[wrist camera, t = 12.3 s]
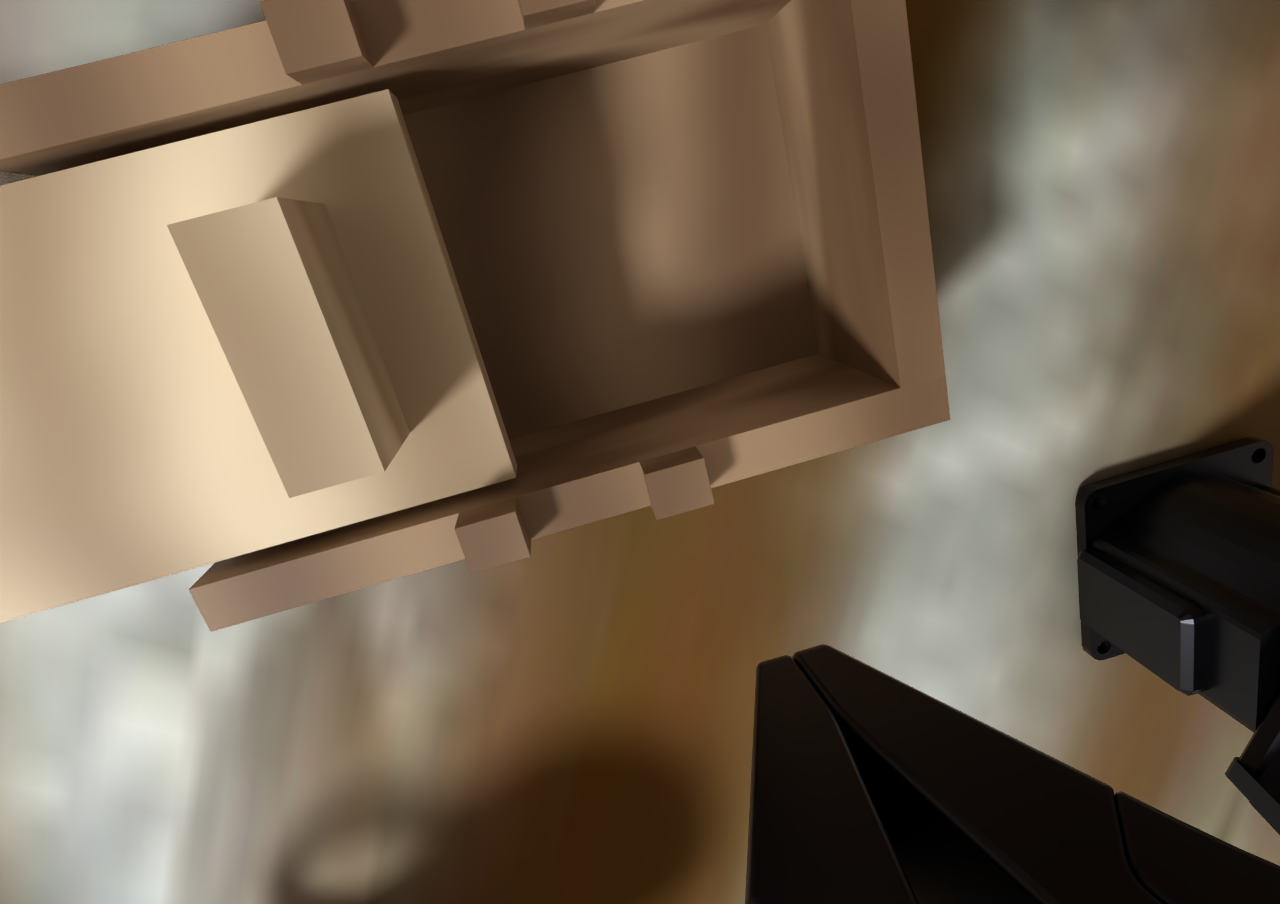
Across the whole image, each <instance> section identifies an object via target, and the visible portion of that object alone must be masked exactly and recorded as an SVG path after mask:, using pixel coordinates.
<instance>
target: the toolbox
mask: <svg viewBox="0 0 1280 904" xmlns="http://www.w3.org/2000/svg"><path fill="white" fill-rule="evenodd" d="M259 3H260V5H261V8H262V11H263V13H264V16H265V19H266V21H262V22H258V23H253V24H249V25H245V26H241V27H237V28H233V29H229V30H224V31H220V32H216V33H212V34H208V35H204V36H200V37H195V38H191V39H187V40H183V41H179V42H175V43H171V44H167V45H162V46H158V47H154V48H150V49H146V50H142V51H138V52H133V53H129V54H125V55H121V56H117V57H113V58H109V59H104V60H100V61H96V62H92V63H88V64H84V65H80V66H75V67H71V68H67V69H63V70H59V71H55V72H51V73H46V74H42V75H38V76H34V77H30V78H26V79H22V80H17V81H13V82H9V83H5V84H1V85H0V171H1V172H9V173H18V174H27V175H35V176H41V175H45V174H49V173H53V172H57V171H61V170H65V169H69V168H73V167H77V166H81V165H85V164H89V163H93V162H98V161H102V160H106V159H110V158H114V157H118V156H122V155H126V154H130V153H134V152H138V151H142V150H146V149H150V148H154V147H158V146H162V145H166V144H170V143H174V142H178V141H182V140H186V139H190V138H194V137H198V136H202V135H206V134H210V133H214V132H218V131H222V130H226V129H230V128H234V127H238V126H242V125H246V124H250V123H254V122H258V121H262V120H266V119H270V118H274V117H278V116H282V115H286V114H290V113H294V112H298V111H302V110H306V109H310V108H314V107H318V106H322V105H326V104H330V103H334V102H338V101H342V100H346V99H350V98H354V97H358V96H362V95H367V94H371V93H375V92H379V91H383V90H387V89H388V90H390V91H391V92H392V93H393V94H394V95H395V96H396V97H397V99H398V102H399V105H400V108H401V111H402V114H403V117H404V120H405V123H406V127H407V130H408V133H409V136H410V139H411V142H412V145H413V148H414V151H415V154H416V157H417V160H418V163H419V166H420V169H421V172H422V175H423V179H424V182H425V185H426V188H427V191H428V194H429V197H430V200H431V203H432V206H433V209H434V212H435V215H436V218H437V221H438V224H439V228H440V231H441V234H442V237H443V240H444V243H445V246H446V249H447V252H448V255H449V258H450V261H451V264H452V267H453V270H454V273H455V276H456V280H457V283H458V286H459V289H460V292H461V295H462V298H463V301H464V304H465V307H466V310H467V313H468V316H469V319H470V322H471V325H472V329H473V332H474V335H475V338H476V341H477V344H478V347H479V350H480V353H481V356H482V359H483V362H484V365H485V368H486V371H487V374H488V377H489V381H490V384H491V387H492V390H493V393H494V396H495V399H496V402H497V405H498V408H499V411H500V414H501V417H502V420H503V423H504V426H505V429H506V433H507V436H508V439H509V442H510V445H511V448H512V451H513V454H514V457H515V460H516V463H517V473H516V478H513V479H509V480H506V481H502V482H499V483H495V484H492V485H488V486H485V487H481V488H478V489H474V490H470V491H467V492H463V493H460V494H456V495H453V496H449V497H446V498H442V499H438V500H435V501H431V502H428V503H424V504H421V505H417V506H414V507H410V508H407V509H403V510H399V511H396V512H392V513H389V514H385V515H382V516H378V517H375V518H371V519H367V520H364V521H360V522H357V523H353V524H350V525H346V526H343V527H339V528H335V529H332V530H328V531H325V532H321V533H318V534H314V535H311V536H307V537H304V538H300V539H296V540H293V541H289V542H286V543H282V544H279V545H275V546H272V547H268V548H264V549H261V550H257V551H254V552H250V553H247V554H243V555H240V556H236V557H233V558H229V559H225V560H222V561H218V562H215V563H214V564H213V565H212V567H211V568H210V569H209V570H208V571H207V572H206V573H205V574H204V575H203V576H202V577H201V578H200V579H199V580H198V581H197V582H196V583H195V584H194V585H193V586H192V587H191V588H190V589H189V591H190V593H191V595H192V597H193V599H194V601H195V603H196V605H197V606H198V608H199V610H200V612H201V614H202V616H203V618H204V620H205V622H206V624H207V625H208V627H209V629H210V631H215V630H218V629H222V628H225V627H229V626H232V625H236V624H239V623H243V622H246V621H250V620H253V619H257V618H260V617H264V616H267V615H271V614H274V613H278V612H281V611H285V610H288V609H292V608H295V607H299V606H302V605H306V604H309V603H313V602H316V601H319V600H323V599H326V598H330V597H333V596H337V595H340V594H344V593H347V592H351V591H354V590H358V589H361V588H365V587H368V586H372V585H375V584H379V583H382V582H386V581H389V580H393V579H396V578H400V577H403V576H407V575H410V574H414V573H417V572H421V571H424V570H428V569H431V568H435V567H438V566H442V565H445V564H448V563H452V562H455V561H459V560H462V559H466V562H467V564H468V567H469V570H470V572H471V574H472V573H475V572H479V571H482V570H486V569H489V568H493V567H496V566H500V565H503V564H507V563H510V562H514V561H517V560H521V559H524V558H528V557H530V548H531V540H532V539H536V538H539V537H543V536H546V535H550V534H553V533H557V532H560V531H564V530H567V529H571V528H574V527H578V526H581V525H584V524H588V523H591V522H595V521H598V520H602V519H605V518H609V517H612V516H616V515H619V514H623V513H626V512H630V511H633V510H637V509H640V508H644V507H647V506H651V507H652V510H653V512H654V515H655V517H656V519H657V520H659V519H663V518H666V517H670V516H673V515H677V514H680V513H684V512H687V511H691V510H694V509H698V508H701V507H705V506H708V505H712V504H714V500H713V495H712V491H711V488H714V487H717V486H720V485H724V484H727V483H731V482H734V481H738V480H741V479H745V478H748V477H752V476H755V475H759V474H762V473H766V472H769V471H773V470H776V469H780V468H783V467H787V466H790V465H794V464H797V463H801V462H804V461H808V460H811V459H815V458H818V457H822V456H825V455H829V454H832V453H836V452H839V451H843V450H846V449H850V448H853V447H856V446H860V445H863V444H867V443H870V442H874V441H877V440H881V439H884V438H888V437H891V436H895V435H898V434H902V433H905V432H909V431H912V430H916V429H919V428H923V427H926V426H930V425H933V424H937V423H940V422H944V421H947V420H950V414H949V405H948V395H947V386H946V376H945V367H944V358H943V348H942V339H941V329H940V320H939V311H938V301H937V292H936V283H935V273H934V264H933V254H932V245H931V236H930V226H929V217H928V207H927V198H926V189H925V179H924V170H923V160H922V151H921V142H920V132H919V123H918V113H917V104H916V95H915V85H914V76H913V66H912V57H911V48H910V38H909V29H908V19H907V10H906V1H905V0H266V1H262V2H259Z"/></svg>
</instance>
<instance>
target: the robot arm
mask: <svg viewBox="0 0 1280 904" xmlns="http://www.w3.org/2000/svg"><path fill="white" fill-rule="evenodd" d="M1252 454H1253V455H1252ZM1272 463H1273V448H1272V445H1271V444H1270V443H1269V442H1266V441H1264V440H1260V439H1257V438H1253V437H1252V438H1246V439H1242V440H1239V441H1235V442H1232V443H1229V444H1225V445H1222V446H1218V447H1215V448H1212V449H1208V450H1205V451H1202V452H1198V453H1195V454H1191V455H1188V456H1185V457H1181V458H1178V459H1174V460H1171V461H1168V462H1164V463H1161V464H1158V465H1154V466H1151V467H1147V468H1144V469H1141V470H1137V471H1134V472H1130V473H1127V474H1124V475H1120V476H1117V477H1113V478H1110V479H1107V480H1103V481H1100V482H1097V483H1093V484H1090V485H1088V486H1086V487H1084V488H1083V489H1082V490H1081V491H1079V493H1078V495H1077V497H1076V502H1075V506H1076V527H1077V549H1078V560H1077V562H1078V584H1079V605H1080V619H1081V634H1082V647H1083V650H1084V651H1085V652H1087V653H1088V654H1089V655H1090V656H1092V657H1093V658H1094V659H1097V660H1105V659H1108V658H1111V657H1114V656H1118V655H1121V654H1124V653H1126V654H1128V655H1129V656H1131V657H1132V658H1133V659H1135V660H1136V661H1138V662H1139V663H1140V664H1142V665H1143V666H1145V667H1146V668H1147V669H1149V670H1150V671H1152V672H1153V673H1154V674H1156V675H1157V676H1159V677H1160V678H1161V679H1163V680H1164V681H1165V682H1167V683H1168V684H1170V685H1171V686H1172V687H1174V688H1175V689H1177V690H1178V691H1180V692H1182V693H1184V694H1186V695H1188V696H1189V695H1193V694H1197V693H1198V694H1200V695H1201V696H1203V697H1204V698H1205V699H1207V700H1208V701H1210V702H1211V703H1213V704H1214V705H1215V706H1217V707H1218V708H1220V709H1221V710H1223V711H1224V712H1225V713H1227V714H1228V715H1230V716H1231V717H1233V718H1234V719H1235V720H1237V721H1238V722H1240V723H1241V724H1243V725H1244V726H1246V727H1247V728H1248V729H1250V730H1251V731H1253V732H1254V734H1253V736H1252V738H1251V739H1250V741H1249V743H1248V745H1247V746H1246V748H1245V750H1244V751H1243V753H1242V755H1241V756H1240V758H1239V757H1235V758H1234V759H1233V761H1232V763H1231V764H1230V766H1229V768H1228V769H1227V771H1226V773H1225V775H1226V776H1227V777H1228V778H1229V780H1230V781H1231V782H1232V783H1233V784H1234V785H1235V786H1236V787H1237V788H1238V789H1239V790H1240V791H1241V792H1242V793H1243V795H1244V796H1245V797H1246V798H1247V799H1248V800H1249V802H1250V804H1251V805H1252V806H1253V807H1254V808H1255V809H1256V810H1257V811H1258V812H1259V813H1260V814H1261V816H1262V817H1263V818H1264V819H1265V820H1266V821H1267V822H1268V823H1269V824H1270V825H1271V826H1272V827H1273V828H1274V829H1275V830H1276V832H1277V833H1278V834H1279V835H1280V490H1277V489H1275V488H1272V487H1271V482H1272ZM1096 497H1097V500H1096V502H1095V503H1094V504H1093V505H1092V502H1093V500H1094V499H1095V498H1096ZM1100 643H1101V644H1100ZM1099 644H1100V645H1099ZM745 904H1280V866H1278V865H1276V864H1274V863H1271V862H1269V861H1267V860H1265V859H1262V858H1260V857H1258V856H1255V855H1253V854H1251V853H1248V852H1246V851H1244V850H1242V849H1239V848H1237V847H1235V846H1233V845H1231V844H1229V843H1226V842H1224V841H1222V840H1220V839H1218V838H1216V837H1214V836H1212V835H1210V834H1208V833H1205V832H1203V831H1201V830H1199V829H1197V828H1195V827H1193V826H1191V825H1189V824H1187V823H1184V822H1182V821H1180V820H1178V819H1176V818H1174V817H1172V816H1170V815H1168V814H1166V813H1164V812H1162V811H1160V810H1158V809H1156V808H1154V807H1152V806H1149V805H1147V804H1145V803H1143V802H1141V801H1139V800H1137V799H1135V798H1133V797H1131V796H1129V795H1127V794H1125V793H1123V792H1117V793H1116V794H1115V795H1114V791H1113V789H1112V788H1111V787H1110V786H1109V785H1107V784H1105V783H1103V782H1101V781H1099V780H1097V779H1095V778H1093V777H1091V776H1089V775H1087V774H1085V773H1083V772H1081V771H1079V770H1077V769H1075V768H1073V767H1071V766H1069V765H1067V764H1065V763H1063V762H1061V761H1059V760H1057V759H1055V758H1053V757H1051V756H1049V755H1047V754H1045V753H1043V752H1041V751H1039V750H1037V749H1035V748H1033V747H1031V746H1029V745H1027V744H1025V743H1023V742H1021V741H1019V740H1017V739H1015V738H1013V737H1011V736H1009V735H1007V734H1005V733H1003V732H1001V731H999V730H997V729H995V728H993V727H991V726H989V725H987V724H985V723H983V722H981V721H979V720H977V719H975V718H973V717H971V716H969V715H967V714H965V713H963V712H961V711H959V710H957V709H955V708H953V707H951V706H949V705H947V704H945V703H943V702H941V701H939V700H937V699H935V698H933V697H931V696H929V695H927V694H925V693H923V692H921V691H919V690H917V689H915V688H913V687H911V686H909V685H907V684H905V683H903V682H901V681H899V680H897V679H895V678H893V677H891V676H889V675H887V674H885V673H883V672H881V671H879V670H877V669H875V668H873V667H871V666H869V665H867V664H865V663H863V662H861V661H859V660H857V659H855V658H853V657H851V656H849V655H847V654H845V653H843V652H841V651H839V650H837V649H835V648H833V647H831V646H828V645H819V646H815V647H812V648H808V649H805V650H802V651H798V652H796V653H795V654H794V655H793V658H792V657H791V656H787V655H785V656H781V657H778V658H774V659H771V660H767V661H764V662H761V663H759V664H758V666H757V669H756V688H755V709H754V730H753V750H752V771H751V792H750V812H749V833H748V853H747V874H746V895H745Z"/></svg>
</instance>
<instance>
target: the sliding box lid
mask: <svg viewBox="0 0 1280 904" xmlns="http://www.w3.org/2000/svg"><path fill="white" fill-rule="evenodd" d="M516 473H517V463H516V460H515V457H514V454H513V451H512V448H511V445H510V442H509V439H508V436H507V433H506V429H505V426H504V423H503V420H502V417H501V414H500V411H499V408H498V405H497V402H496V399H495V396H494V393H493V390H492V387H491V384H490V381H489V377H488V374H487V371H486V368H485V365H484V362H483V359H482V356H481V353H480V350H479V347H478V344H477V341H476V338H475V335H474V332H473V329H472V325H471V322H470V319H469V316H468V313H467V310H466V307H465V304H464V301H463V298H462V295H461V292H460V289H459V286H458V283H457V280H456V276H455V273H454V270H453V267H452V264H451V261H450V258H449V255H448V252H447V249H446V246H445V243H444V240H443V237H442V234H441V231H440V228H439V224H438V221H437V218H436V215H435V212H434V209H433V206H432V203H431V200H430V197H429V194H428V191H427V188H426V185H425V182H424V179H423V175H422V172H421V169H420V166H419V163H418V160H417V157H416V154H415V151H414V148H413V145H412V142H411V139H410V136H409V133H408V130H407V127H406V123H405V120H404V117H403V114H402V111H401V108H400V105H399V102H398V99H397V97H396V96H395V95H394V94H393V93H392V92H391V91H390V90H388V89H387V90H383V91H379V92H375V93H371V94H367V95H362V96H358V97H354V98H350V99H346V100H342V101H338V102H334V103H330V104H326V105H322V106H318V107H314V108H310V109H306V110H302V111H298V112H294V113H290V114H286V115H282V116H278V117H274V118H270V119H266V120H262V121H258V122H254V123H250V124H246V125H242V126H238V127H234V128H230V129H226V130H222V131H218V132H214V133H210V134H206V135H202V136H198V137H194V138H190V139H186V140H182V141H178V142H174V143H170V144H166V145H162V146H158V147H154V148H150V149H146V150H142V151H138V152H134V153H130V154H126V155H122V156H118V157H114V158H110V159H106V160H102V161H98V162H93V163H89V164H85V165H81V166H77V167H73V168H69V169H65V170H61V171H57V172H53V173H49V174H45V175H41V176H37V177H33V178H29V179H25V180H21V181H17V182H13V183H9V184H5V185H1V186H0V623H2V622H5V621H9V620H12V619H16V618H19V617H23V616H27V615H30V614H34V613H37V612H41V611H44V610H48V609H51V608H55V607H59V606H62V605H66V604H69V603H73V602H76V601H80V600H83V599H87V598H90V597H94V596H98V595H101V594H105V593H108V592H112V591H115V590H119V589H122V588H126V587H130V586H133V585H137V584H140V583H144V582H147V581H151V580H154V579H158V578H162V577H165V576H169V575H172V574H176V573H179V572H183V571H186V570H190V569H193V568H197V567H201V566H204V565H208V564H211V563H215V562H218V561H222V560H225V559H229V558H233V557H236V556H240V555H243V554H247V553H250V552H254V551H257V550H261V549H264V548H268V547H272V546H275V545H279V544H282V543H286V542H289V541H293V540H296V539H300V538H304V537H307V536H311V535H314V534H318V533H321V532H325V531H328V530H332V529H335V528H339V527H343V526H346V525H350V524H353V523H357V522H360V521H364V520H367V519H371V518H375V517H378V516H382V515H385V514H389V513H392V512H396V511H399V510H403V509H407V508H410V507H414V506H417V505H421V504H424V503H428V502H431V501H435V500H438V499H442V498H446V497H449V496H453V495H456V494H460V493H463V492H467V491H470V490H474V489H478V488H481V487H485V486H488V485H492V484H495V483H499V482H502V481H506V480H509V479H513V478H516Z"/></svg>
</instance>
